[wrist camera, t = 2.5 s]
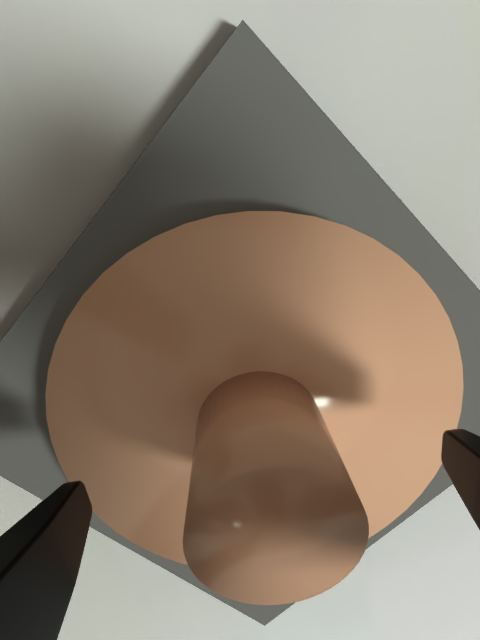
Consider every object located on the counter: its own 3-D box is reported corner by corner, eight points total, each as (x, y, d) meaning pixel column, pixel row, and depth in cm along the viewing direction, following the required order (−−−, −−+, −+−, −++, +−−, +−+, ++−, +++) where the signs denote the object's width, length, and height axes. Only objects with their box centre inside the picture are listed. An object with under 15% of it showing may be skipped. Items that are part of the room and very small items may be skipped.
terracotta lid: (265, 600, 13) (282, 768, 9) (-23, 434, 10) (-175, 578, 6) (526, 395, 11) (701, 507, 7) (242, 95, 8) (262, -14, 4)
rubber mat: (263, 614, 14) (264, 625, 14) (-61, 427, 11) (-71, 435, 10) (559, 388, 11) (570, 394, 11) (241, 28, 8) (242, 19, 7)
